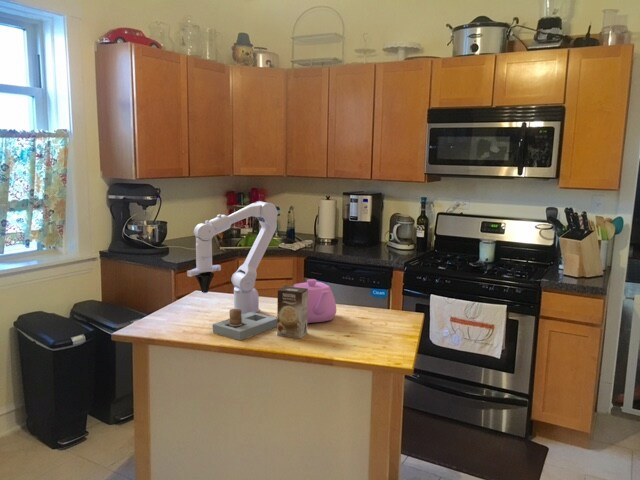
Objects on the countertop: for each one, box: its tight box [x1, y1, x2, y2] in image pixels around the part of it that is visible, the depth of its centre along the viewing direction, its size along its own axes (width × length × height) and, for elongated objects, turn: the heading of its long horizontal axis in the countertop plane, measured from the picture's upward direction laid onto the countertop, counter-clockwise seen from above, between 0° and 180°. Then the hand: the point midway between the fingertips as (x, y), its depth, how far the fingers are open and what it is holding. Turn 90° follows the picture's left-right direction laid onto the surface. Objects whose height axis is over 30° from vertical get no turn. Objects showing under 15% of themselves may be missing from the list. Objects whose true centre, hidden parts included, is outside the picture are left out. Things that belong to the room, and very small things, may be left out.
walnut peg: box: [229, 308, 242, 328], centre depth 181 cm, size 4×4×8 cm
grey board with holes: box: [212, 312, 277, 341], centre depth 186 cm, size 19×13×3 cm
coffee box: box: [276, 285, 308, 339], centre depth 180 cm, size 9×6×16 cm
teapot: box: [292, 278, 337, 325], centre depth 194 cm, size 23×21×15 cm
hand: (204, 292), depth 196 cm, fingers closed
